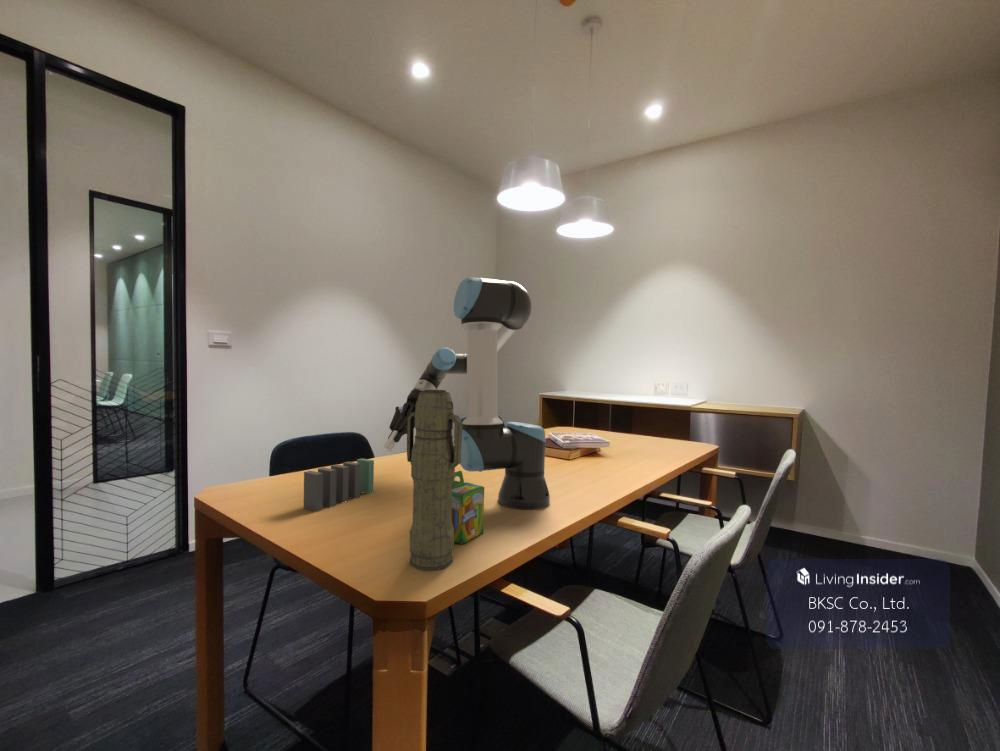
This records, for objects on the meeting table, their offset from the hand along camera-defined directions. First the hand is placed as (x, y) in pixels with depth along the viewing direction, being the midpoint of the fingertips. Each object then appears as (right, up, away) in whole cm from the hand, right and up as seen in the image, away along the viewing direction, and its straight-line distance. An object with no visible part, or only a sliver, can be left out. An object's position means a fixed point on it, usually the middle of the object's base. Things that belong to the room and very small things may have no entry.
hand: (387, 448), depth 147 cm
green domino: (-5, -12, -9) cm, 16 cm away
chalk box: (+27, -14, -41) cm, 51 cm away
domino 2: (-12, -12, -21) cm, 27 cm away
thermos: (+23, -14, -55) cm, 61 cm away
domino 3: (-10, -12, -17) cm, 23 cm away
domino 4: (-7, -12, -14) cm, 20 cm away
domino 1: (-14, -12, -25) cm, 32 cm away
